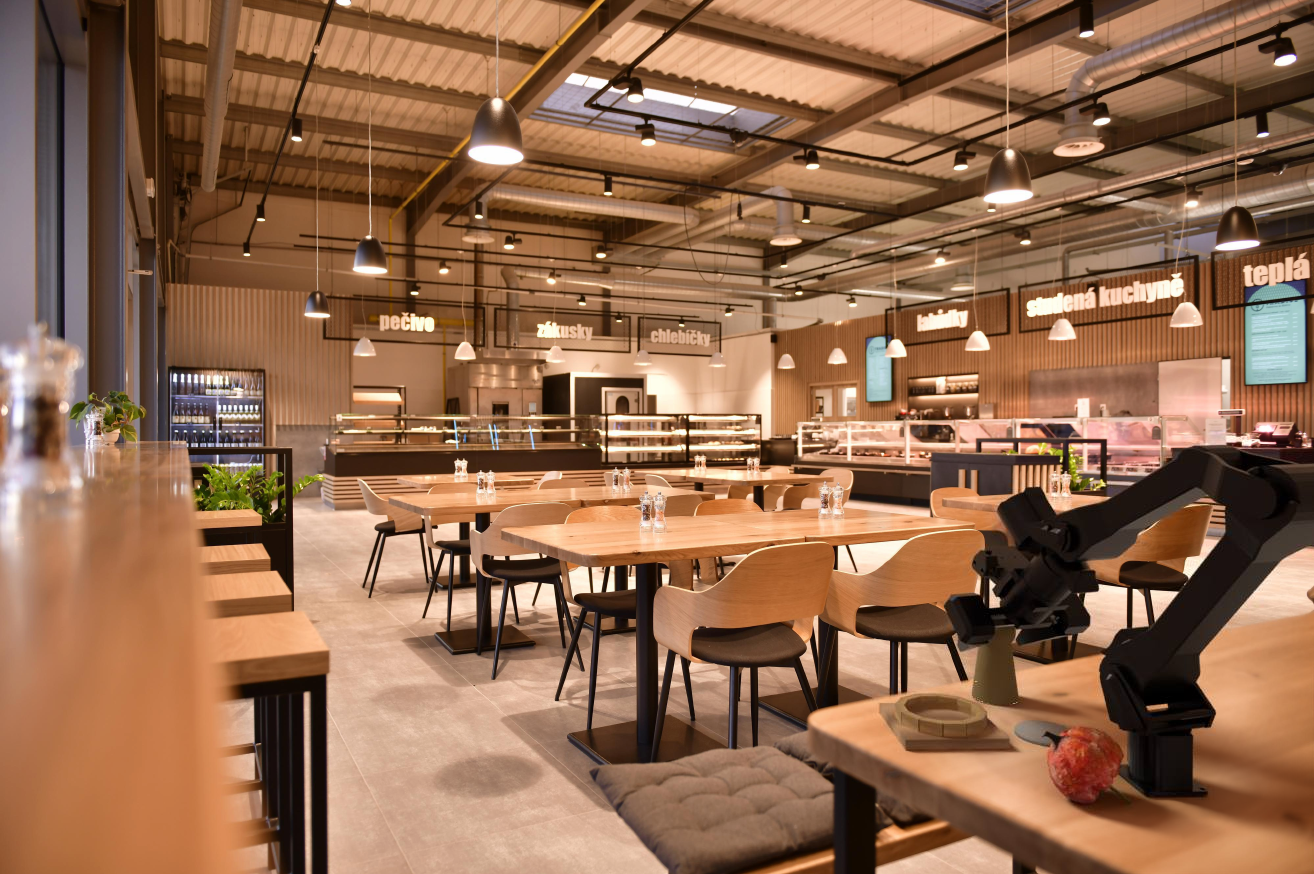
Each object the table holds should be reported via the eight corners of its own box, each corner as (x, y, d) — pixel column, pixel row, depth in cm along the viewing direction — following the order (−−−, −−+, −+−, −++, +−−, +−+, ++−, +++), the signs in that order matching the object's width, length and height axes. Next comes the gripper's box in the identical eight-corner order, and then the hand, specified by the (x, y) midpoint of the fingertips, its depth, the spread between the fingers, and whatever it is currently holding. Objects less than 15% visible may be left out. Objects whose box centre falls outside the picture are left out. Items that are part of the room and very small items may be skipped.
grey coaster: (1089, 746, 97) (1089, 743, 97) (1029, 746, 98) (1029, 743, 98) (1061, 723, 104) (1061, 720, 104) (1004, 724, 105) (1004, 720, 104)
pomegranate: (1110, 805, 88) (1027, 735, 91) (1160, 763, 85) (1072, 692, 88) (1103, 844, 82) (1015, 768, 85) (1157, 800, 78) (1063, 722, 82)
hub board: (1009, 748, 97) (1009, 725, 97) (905, 749, 97) (905, 726, 97) (971, 711, 109) (971, 690, 109) (879, 712, 109) (879, 691, 109)
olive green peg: (1010, 690, 117) (1011, 612, 116) (1025, 706, 111) (1025, 623, 110) (966, 689, 117) (966, 611, 117) (978, 705, 111) (978, 623, 111)
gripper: (1075, 526, 111) (1019, 591, 123) (952, 533, 107) (905, 600, 118) (1121, 598, 104) (1057, 659, 115) (991, 609, 100) (938, 672, 111)
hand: (989, 645), depth 115 cm, fingers open, 9 cm apart
